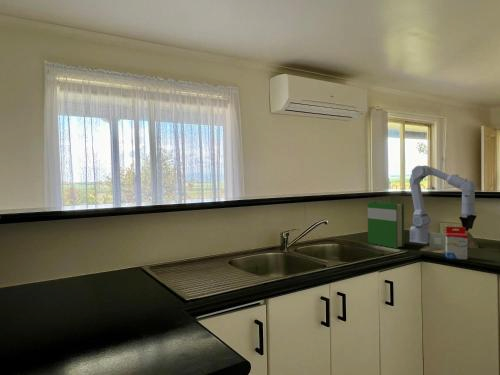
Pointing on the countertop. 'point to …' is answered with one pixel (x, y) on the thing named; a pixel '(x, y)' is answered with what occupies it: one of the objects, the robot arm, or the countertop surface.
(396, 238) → the hardback book
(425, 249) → the mat
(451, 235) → the ink box
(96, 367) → the countertop surface
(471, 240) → the rock
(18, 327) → the countertop surface
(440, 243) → the tile
